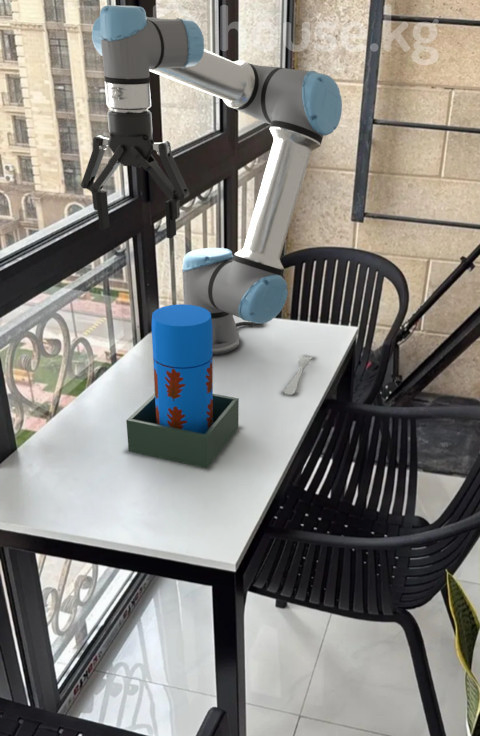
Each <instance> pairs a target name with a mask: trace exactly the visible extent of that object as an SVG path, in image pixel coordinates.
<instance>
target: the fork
mask: <svg viewBox="0 0 480 736" xmlns="http://www.w3.org/2000/svg"><path fill="white" fill-rule="evenodd" d="M312 359H313V357H312V356H305V355H301V356H300V357H299V358H298V360H297V364H298V365H299V369H298V371H297V373H296V375H295V376H294V377H293V379H291V380H290V382H289V383H288V384H287V386H286V387H285V388H284V390H283V393H284V394H285V395H288V396H293V395H295V394H296V392H297V388H298V384H299V380H300V378H301V375H302V373H303V371H304V369H305V368H306V367H307V366H308V365H309V364H310V363H311V360H312Z"/></svg>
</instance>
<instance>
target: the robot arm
mask: <svg viewBox="0 0 480 736" xmlns="http://www.w3.org/2000/svg"><path fill="white" fill-rule="evenodd" d="M202 31H203V30H202V29H201V27H200V25H198V23H196V22H195V21H194V20H192V19H183V18H178V17H177V18H161V17H150V16H149V17H148V16H147V12H146V10H145V9H144V7H142V6H137V5H115V4H111V5H109V4H107V5H104V6H102V8H101V9H100V11H99V16H98V17H97V18H96V19H95V21H94V23H93V25H92V30H91V40H92V44H93V46H94V49H95V50H96V52H97V53H98V54H99V55H100V56H102V57H101V58H102V66H103V75H104V90H105V101H106V106H107V108H109V109H108V111H107V112H106V114H107V127H108V132H109V137H106V136H105V135H104V134H100V135H97V136H94V137H93V138H92V152H91V153H90V157H89V160H88V162H87V166H86V168H85V172H84V174H83V177H82V180H81V183H80V186H81V188H82V189H83V190H85V189H86V190H88V191H90V193H91V196H92V198H91V199H92V207H93V210H94V211H97V219H98V229H99V231H105V230H107V229H108V228H110V225H111V224H110V215H109V203H108V192H107V190H104V187H105V186H106V184H108V182H109V180H110V179H111V178H112V176H113V175H114V174H115V172H116V171H117V170H118V168H119V167H120V165H122V166H123V167H130V166H131V167H134V168H141V167H142V168H143V169H144V170H145V171H146V172H147V173H148V174H149V175H150V177H151V178H152V179H153V181H154V182H155V184H157V186H158V187H159V189H160V190H161V191H162V193H163V194H164V195H165V197H166V198H167V200H166V201H164V207H165V229H166V239H172V238H174V237H175V236H177V220H178V219H179V218H180V216H181V206H180V203H181V202H180V201H181V200H185V199H186V198H187V197H189V196H190V191H189V188H188V186H187V184H186V181H185V180H184V178H183V176H182V174H181V171H180V169H179V166H178V164H177V162H176V161H175V159H174V156H173V153H172V147H171V143H170V142H169V141H168V140H165V141H163V142H155V141H154V139H153V120H152V119H153V116H152V114H153V113H152V112H151V111H150V110H149V109H150V108H151V107H152V99H151V96H152V95H151V85H150V83H151V78H150V72H151V73H153V74H156V75H159V76H162V77H164V78H166V79H169V80H171V81H174V82H176V83H179V84H182V85H185V86H187V87H190V88H193V89H195V90H198V91H201V92H204V93H206V94H208V95H210V96H213V97H217V98H219V99H222V101H223V103H224V104H225V105H226V106H227V107H228V108H231V109H234V110H236V111H239V112H241V113H243V114H246V115H247V116H249V117H252V118H254V119H256V120H258V121H260V122H263V123H265V124H268V125H269V131H270V134H271V135H272V138H273V142H272V145H271V148H270V152H269V156H268V160H267V163H266V166H265V169H264V173H263V177H262V181H261V184H260V188H259V191H258V195H257V199H256V202H255V206H254V209H253V212H252V217H251V219H250V223H249V227H248V229H247V234H246V238H245V241H244V245H243V247H242V248H241V249H240V250H238V251H236V252H235V253H234V255H233V251H232V250H231V249H228V248H224V247H205V248H199V249H194V250H190V251H189V252H187V253H185V255H184V257H183V259H182V269H181V271H182V293H183V304H184V305H194V306H199V307H202V308H204V309H207V310H208V311H209V312H210V313H211V320H212V356H215V355H222V354H226V353H230V352H232V351H234V350H235V349H237V348H238V346H239V345H240V333H239V331H238V327H244V326H249V327H261V326H262V325H264V324H266V323H269V322H271V321H272V320H273V319H274V318H276V317H277V316H278V315H279V314H280V312H281V311H282V310H283V309H284V307H285V304H286V302H287V299H288V294H289V289H288V283H287V281H286V280H285V279H284V278H283V274H284V270H285V268H284V265H283V263H282V262H281V257H282V254H283V251H284V247H285V244H286V240H287V237H288V233H289V230H290V226H291V223H292V219H293V216H294V212H295V209H296V206H297V202H298V199H299V197H300V193H301V189H302V186H303V183H304V180H305V179H304V178H305V175H306V172H307V167H308V165H309V162H310V159H311V155H312V152H313V151H315V150H317V149H319V148H321V146H322V142H323V139H324V136H328V135H331V134H333V133H334V131H335V130H336V129H337V128H338V126H339V124H340V121H341V117H342V111H343V100H342V95H341V90H340V88H339V86H338V84H337V81H335V79H334V78H332V76H330V75H328V74H325V73H320V72H317V71H315V70H310V71H309V70H300V69H295V68H294V69H292V68H286V67H280V66H268V65H258V64H254V63H250V62H247V61H245V60H239V59H238V60H235V61H232V60H231V59H228V58H226V57H224V56H221V55H219V54H216V53H214V52H212V51H209V50H207V49H205V37H204V34H203V32H202ZM108 147H109V149H110V151H111V152H112V153H113V154H112V156H111V157H110V158H109V159H108V162H107V164H106V165H105V167H104V168H103V169H102V171H101V172H100V174H99V175H98V172H99V169H100V166H101V163H102V161H103V158H104V155H105V153H106V150H107V149H108ZM154 152H156V154H157V156H159V158H160V161H161V163H162V166H163V167H164V170H165V172H166V174H167V175H166V174H165V172H164V171H163V170H162V168H161V167H160V166H159V163H158V161H157V160H156V158H155V157H154V156H153V154H154ZM97 175H98V177H97ZM96 177H97V178H96ZM234 317H236V318H240V319H241V320H242V321H239V322H236V321H235V318H234Z"/></svg>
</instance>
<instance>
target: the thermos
mask: <svg viewBox="0 0 480 736" xmlns="http://www.w3.org/2000/svg"><path fill="white" fill-rule="evenodd" d="M151 342H152V343H151V344H152V362H153V363H152V365H153V383H154V393H155V404H156V423H157V424H158V425H163V426H168V427H173V428H178V429H183V430H187V431H192V432H197V433H202V434H205V433H206V432H207V431H208V430H209V428H210V427H211V426H212V425H213V394H214V386H213V385H214V383H213V382H214V380H213V379H214V377H213V376H214V375H213V373H214V372H213V370H214V369H213V367H214V366H213V364H214V363H213V361H214V360H213V355H212V320H211V313H210V312H209V311H208V310H207V309H204V308H202V307H199V306H194V305H184V303H183V304H181V303H179V304H170V305H165V306H161V307H158V308H156V309H155V310H154V311H153V312H152V314H151Z"/></svg>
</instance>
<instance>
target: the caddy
mask: <svg viewBox="0 0 480 736" xmlns="http://www.w3.org/2000/svg"><path fill="white" fill-rule="evenodd" d="M239 402H240V399H239V398H238V397H233V396H228V395H222V394H219V393H213V425H212V426H211V427H210V428H209V430H208V431H207V432H206V433H205V434H202V433H197V432H192V431H187V430H183V429H178V428H173V427H168V426H163V425H158V424H157V423H156V404H155V392H154V393H153V394H152V395H151V396H150V397H149V398H147V400H146V401H145V402H144V403H143V404H141V405H140V406H139V407H138V408H137V409H136V410H135V411H134V412H133V413H132V414H131V415H130V416H129V417H128V418H127V419H126V420H125V421H126V434H127V436H126V437H127V447H128V452H130V453H136V454H140V455H144V456H148V457H152V458H157V459H162V460H167V461H172V462H175V463H176V462H177V463H181V464H186V465H190V466H195V467H199V468H204V469H208V468H209V467H210V466H211V464H212V463H213V462H214V461H215V459H216V458H217V457H218V456H219V454H220V453H221V451H222V450H224V447H225V446H226V445H227V444H228V442H229V441H230V440H231V439H232V437H233V436H234V435H235V434H236V432H237V431H238V429H239V409H240V407H239V406H240V405H239V404H240V403H239Z"/></svg>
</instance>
